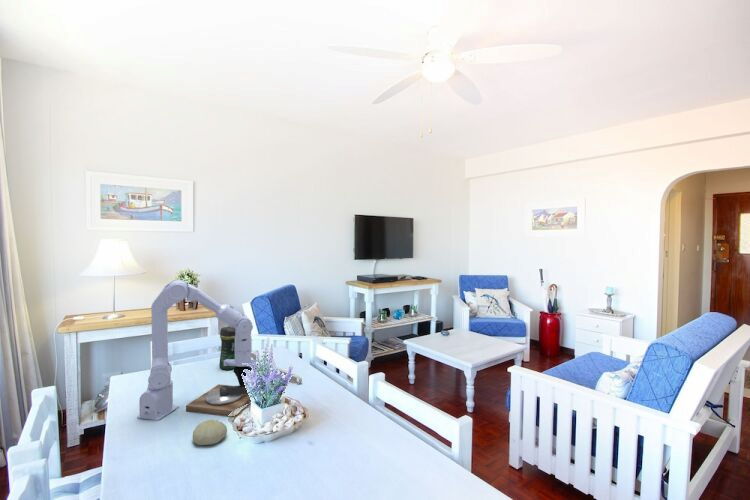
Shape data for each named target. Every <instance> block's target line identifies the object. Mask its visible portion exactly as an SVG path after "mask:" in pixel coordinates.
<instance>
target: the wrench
mask: <svg viewBox="0 0 750 500" xmlns="http://www.w3.org/2000/svg"><path fill="white" fill-rule="evenodd" d="M256 353H257V352H256V351H254V352H251V359H252V360H254V361H256ZM260 357H261V358H262V356H261V355H260ZM276 367H277V368H278V370H279V371H280V372H283V373H284V375H286V374H287V372H289V371H288V370H285V369H283V368H281V367H278V366H276ZM291 373H292V377H291V379H290V381H289V382H290V383H292V384H295V385H300V384H302V382H303V378H302V377H301V376H300V375H297V374H296V373H293V372H291Z"/></svg>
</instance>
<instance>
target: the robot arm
mask: <svg viewBox="0 0 750 500" xmlns="http://www.w3.org/2000/svg"><path fill="white" fill-rule="evenodd" d="M185 299H186V302H187V301H188V302H190V301H191V302H193V301H195V302H197V303H199V304H200V305H203V306H204V307H205V308H207V309H209V310H211V311H212V312H214V313H215V318H216V319H217V320H219V321H221V322H222V323H224V324H226V325H227V326H228V327H229V326H230V327H234V328H235V329H236V331H235V359H226V360H224V366H235V368H234V369H232V371H233V373H234V374H235V376H236V379H237V381H238V384H239V385H238V386H240V385H244V382H243V379H242V376H241V374H242V373H243V375H244V376H246V373H245V372H243V370H244V369H248V370H250V371H251V372H252V370H253V369H252V368H251V367H250V366H247V365H242V363H251V364H256V361H254V360H253V359H252V357H251V353H252V331H253V329H254V325H253V323H252V320H251V319H250V318H249V316H247V315H246V314H245V313H243V312H240V311H238V310H236V309H235V308H234V306H233V304H230V305H229V304H227V303H226V304H224V303H223V304H221V303H220V302H218V301H216V300H215V299H214V298H212V297H211V296H210V295H208V294H207V293H205V292H204V291H202V290H201V289H199V288H197V287H196V286H194V285H192V284H190V283H188V284H187V282H186V281H185V280H182V279H173V280H172V281H170V282H168V283H167V284H166V285H165V286H164V287H163V288H162V289H161V292H160V293H159V294H158V295H157V296H156V298H155V299H154V300H153V302H152V303H151V368H150V371H149V372H150V373H149V376H148V379H147V388H146V390H145V392H143V393H142V394H141V395H140V397H139V408H138V409H139V414H138V415H137V419H144V420H152V421H159V420H161V419H163V418H164V417H166V416H167V415H170V413H172V412H174V411H176V410H177V409H178V408H180V406H179V405H176V404H175V405H174V404H173V403H174V402H173V401H174V400H173V398H174V394H173V393H174V391H173V388H174V386H173V385H174V381H173V380H172V378H171V377H172V376H171V373H172V370H173V368H172V366H171V364H170V362H169V348H168V347H169V339H168V338H169V334H168V333H169V331H168V328H169V327H168V326H169V325H168V322H169V321H168V310H169V309H171V308H172V307H173V306H174V305H176V304H177V303H180V302H182V301H184V300H185Z"/></svg>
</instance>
